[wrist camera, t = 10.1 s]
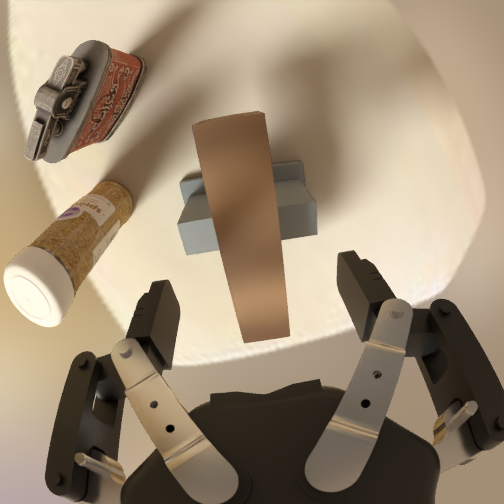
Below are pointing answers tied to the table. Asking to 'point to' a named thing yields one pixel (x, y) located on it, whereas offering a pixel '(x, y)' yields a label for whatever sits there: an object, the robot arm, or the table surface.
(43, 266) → the sprinkles bottle
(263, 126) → the walnut bar
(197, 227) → the fulcrum
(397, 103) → the table surface
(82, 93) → the lighter
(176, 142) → the table surface
